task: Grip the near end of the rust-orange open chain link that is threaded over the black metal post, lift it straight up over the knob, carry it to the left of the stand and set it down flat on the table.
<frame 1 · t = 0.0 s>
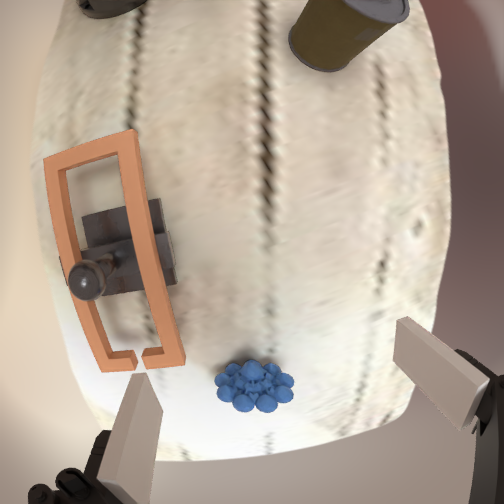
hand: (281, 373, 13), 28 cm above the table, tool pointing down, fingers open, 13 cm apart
grapes: (248, 357, 45), on the table
canister: (321, 44, 35), on the table
stand: (129, 248, 38), on the table
link: (111, 261, 31), point 7 cm above the table, touching stand
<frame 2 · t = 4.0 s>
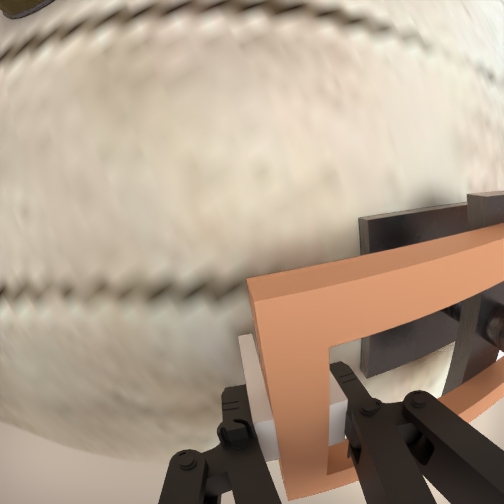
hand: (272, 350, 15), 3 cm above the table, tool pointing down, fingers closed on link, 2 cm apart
stand: (426, 284, 19), on the table
link: (493, 321, 12), point 7 cm above the table, touching gripper, stand
when the fingers open (1 cm above the table, at t = 12.5 s): link drops 6 cm, on the table.
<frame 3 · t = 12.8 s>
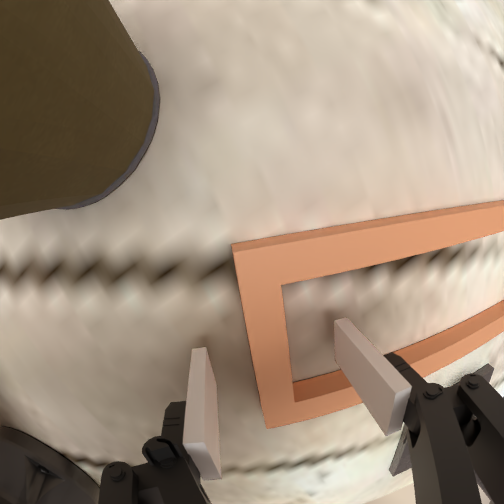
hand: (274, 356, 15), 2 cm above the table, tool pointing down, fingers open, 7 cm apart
canister: (75, 117, 13), on the table
stand: (440, 422, 22), on the table
link: (436, 291, 18), on the table
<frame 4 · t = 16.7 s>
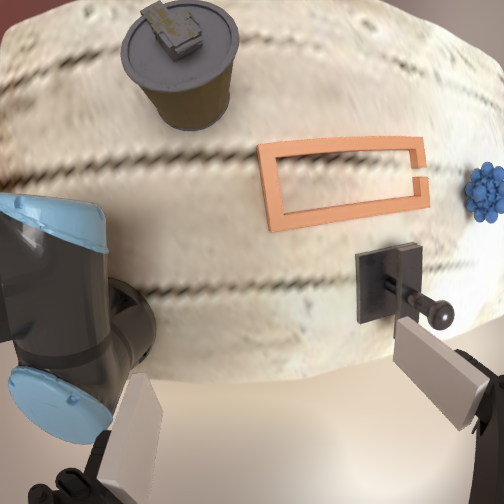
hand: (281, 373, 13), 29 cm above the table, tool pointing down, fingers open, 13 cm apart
grapes: (462, 190, 44), on the table
canister: (191, 96, 35), on the table
stand: (386, 281, 45), on the table
link: (352, 177, 41), on the table
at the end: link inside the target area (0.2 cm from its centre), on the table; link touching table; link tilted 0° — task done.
